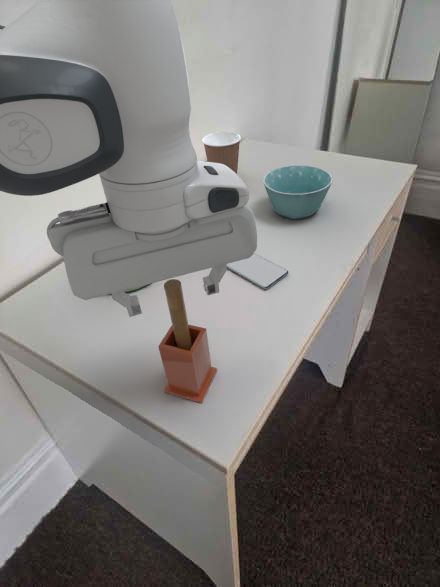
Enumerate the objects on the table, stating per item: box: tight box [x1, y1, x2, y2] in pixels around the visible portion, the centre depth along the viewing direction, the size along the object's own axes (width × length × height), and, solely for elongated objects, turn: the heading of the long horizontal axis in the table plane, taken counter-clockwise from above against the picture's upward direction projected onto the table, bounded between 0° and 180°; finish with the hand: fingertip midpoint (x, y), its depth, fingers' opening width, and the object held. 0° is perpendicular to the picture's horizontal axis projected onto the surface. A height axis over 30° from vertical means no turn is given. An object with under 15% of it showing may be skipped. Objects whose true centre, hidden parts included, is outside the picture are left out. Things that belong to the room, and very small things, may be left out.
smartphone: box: [227, 252, 289, 290], centre depth 74 cm, size 7×1×15 cm
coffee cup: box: [201, 131, 242, 175], centre depth 102 cm, size 10×10×12 cm
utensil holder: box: [157, 323, 218, 404], centre depth 52 cm, size 6×6×10 cm
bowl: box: [262, 164, 333, 220], centre depth 88 cm, size 16×16×8 cm
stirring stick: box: [163, 278, 192, 351], centre depth 48 cm, size 2×2×18 cm
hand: (174, 301), depth 44 cm, fingers open, 8 cm apart
